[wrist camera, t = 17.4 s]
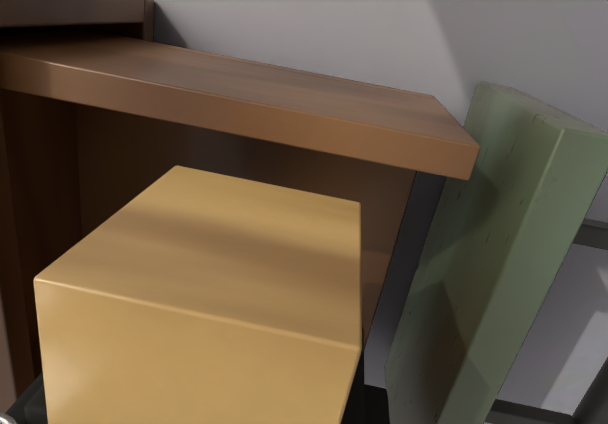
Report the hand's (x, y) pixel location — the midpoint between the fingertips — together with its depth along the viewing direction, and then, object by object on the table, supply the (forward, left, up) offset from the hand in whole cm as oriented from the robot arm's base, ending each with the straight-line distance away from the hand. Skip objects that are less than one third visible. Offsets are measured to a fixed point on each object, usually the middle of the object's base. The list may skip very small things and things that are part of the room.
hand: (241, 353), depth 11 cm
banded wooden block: (0, 0, 0) cm, 0 cm away
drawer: (0, +2, -8) cm, 8 cm away
